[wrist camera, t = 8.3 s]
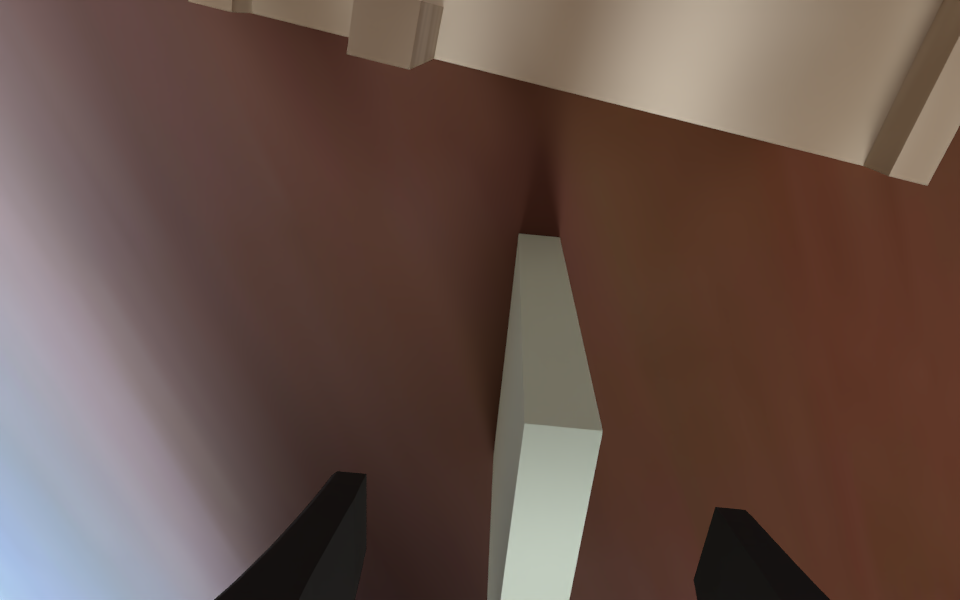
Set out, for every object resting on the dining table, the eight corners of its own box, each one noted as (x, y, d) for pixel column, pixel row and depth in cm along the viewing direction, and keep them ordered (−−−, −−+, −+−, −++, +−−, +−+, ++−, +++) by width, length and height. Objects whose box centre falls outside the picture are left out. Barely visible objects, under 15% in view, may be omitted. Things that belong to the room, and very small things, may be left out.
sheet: (559, 237, 18) (602, 430, 10) (528, 458, 21) (538, 752, 13) (518, 233, 18) (524, 423, 10) (493, 454, 21) (480, 747, 13)
